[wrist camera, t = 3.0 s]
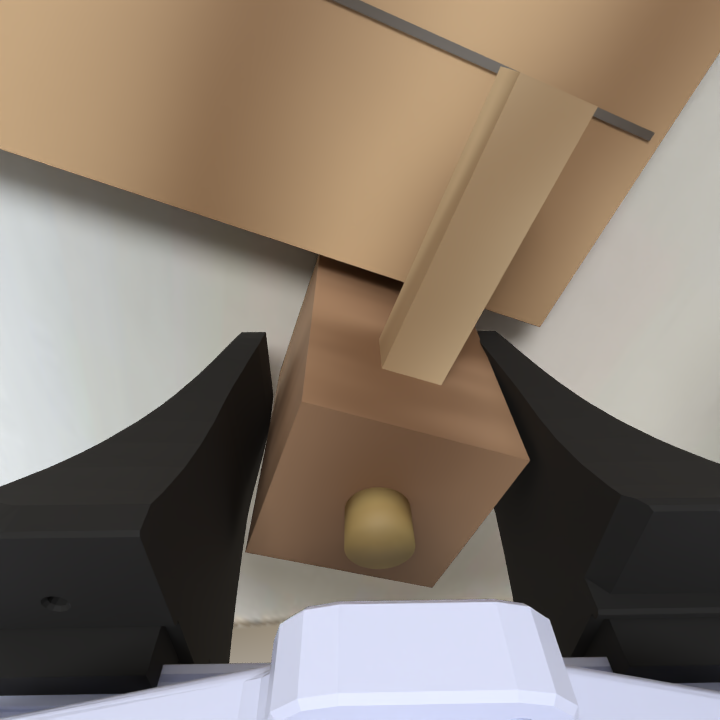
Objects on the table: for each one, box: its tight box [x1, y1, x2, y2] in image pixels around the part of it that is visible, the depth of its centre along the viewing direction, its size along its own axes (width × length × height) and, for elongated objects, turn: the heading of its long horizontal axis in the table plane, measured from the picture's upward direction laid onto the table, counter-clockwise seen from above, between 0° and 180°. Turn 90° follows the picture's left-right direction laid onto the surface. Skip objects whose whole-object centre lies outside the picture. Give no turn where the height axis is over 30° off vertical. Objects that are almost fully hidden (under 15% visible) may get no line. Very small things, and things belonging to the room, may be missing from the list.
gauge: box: [245, 66, 598, 588], centre depth 10 cm, size 4×9×7 cm, turn 160°
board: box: [0, 0, 720, 327], centre depth 9 cm, size 14×8×2 cm, turn 70°
